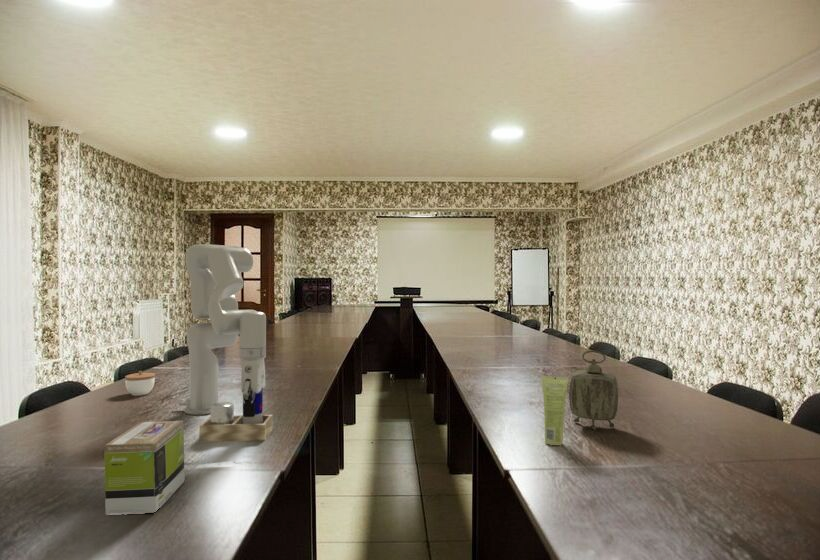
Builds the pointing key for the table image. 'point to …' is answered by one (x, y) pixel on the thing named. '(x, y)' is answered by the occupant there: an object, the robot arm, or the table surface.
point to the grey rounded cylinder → (222, 413)
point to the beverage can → (256, 409)
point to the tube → (554, 408)
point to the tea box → (144, 467)
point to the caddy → (236, 430)
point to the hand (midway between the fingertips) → (252, 412)
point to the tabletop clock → (593, 393)
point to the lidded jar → (139, 383)
